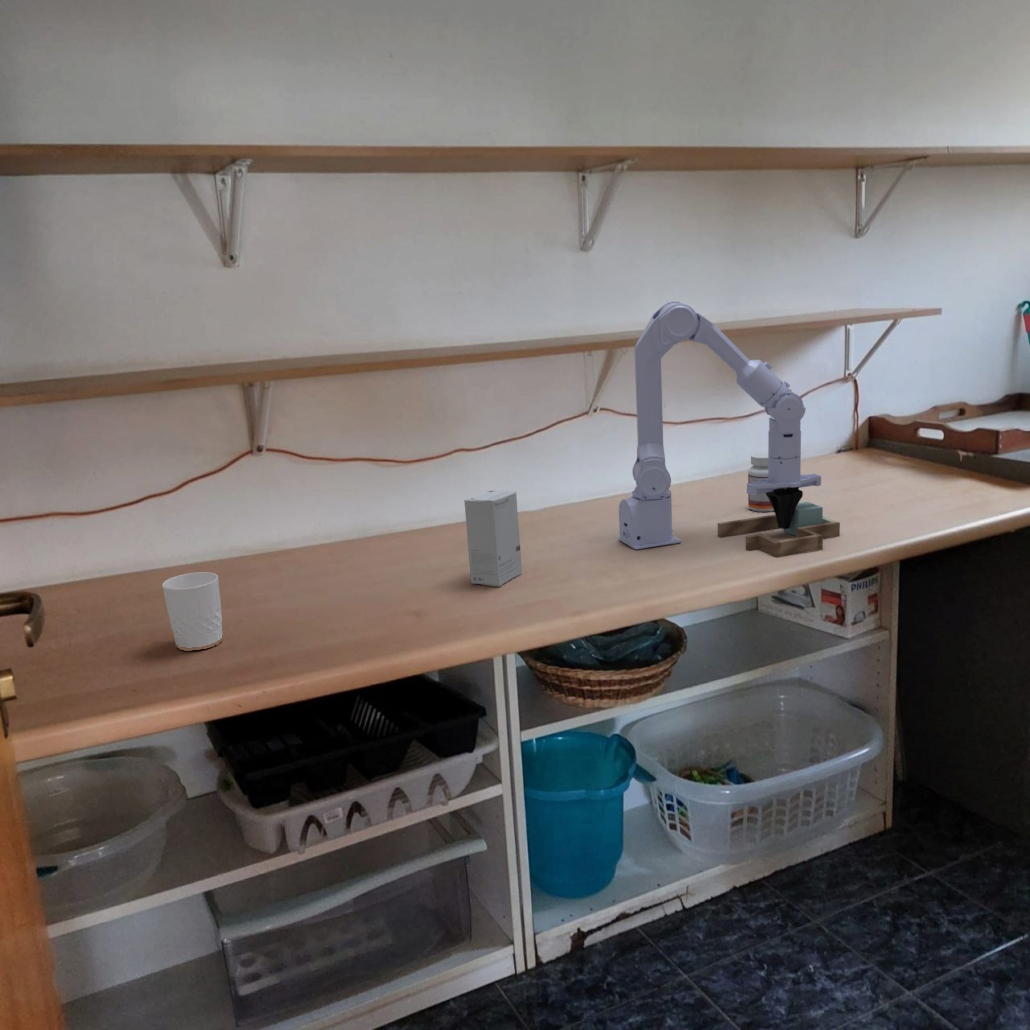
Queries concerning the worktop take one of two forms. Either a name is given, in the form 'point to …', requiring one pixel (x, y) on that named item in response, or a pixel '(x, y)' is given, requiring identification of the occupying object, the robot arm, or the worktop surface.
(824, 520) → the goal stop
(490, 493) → the skincare box
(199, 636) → the white cup
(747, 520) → the brown frame
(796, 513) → the teal block
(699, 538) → the worktop surface
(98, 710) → the worktop surface
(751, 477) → the pill bottle
